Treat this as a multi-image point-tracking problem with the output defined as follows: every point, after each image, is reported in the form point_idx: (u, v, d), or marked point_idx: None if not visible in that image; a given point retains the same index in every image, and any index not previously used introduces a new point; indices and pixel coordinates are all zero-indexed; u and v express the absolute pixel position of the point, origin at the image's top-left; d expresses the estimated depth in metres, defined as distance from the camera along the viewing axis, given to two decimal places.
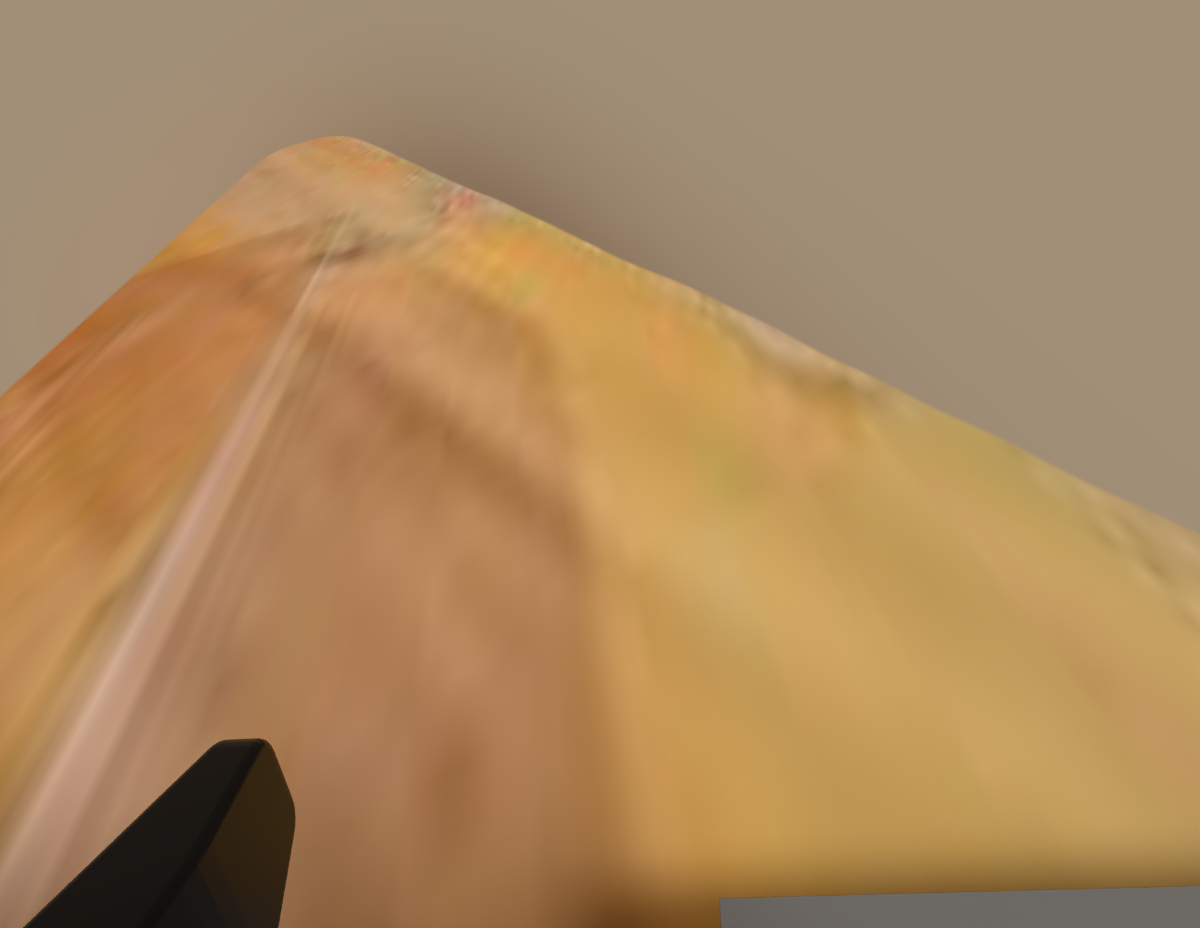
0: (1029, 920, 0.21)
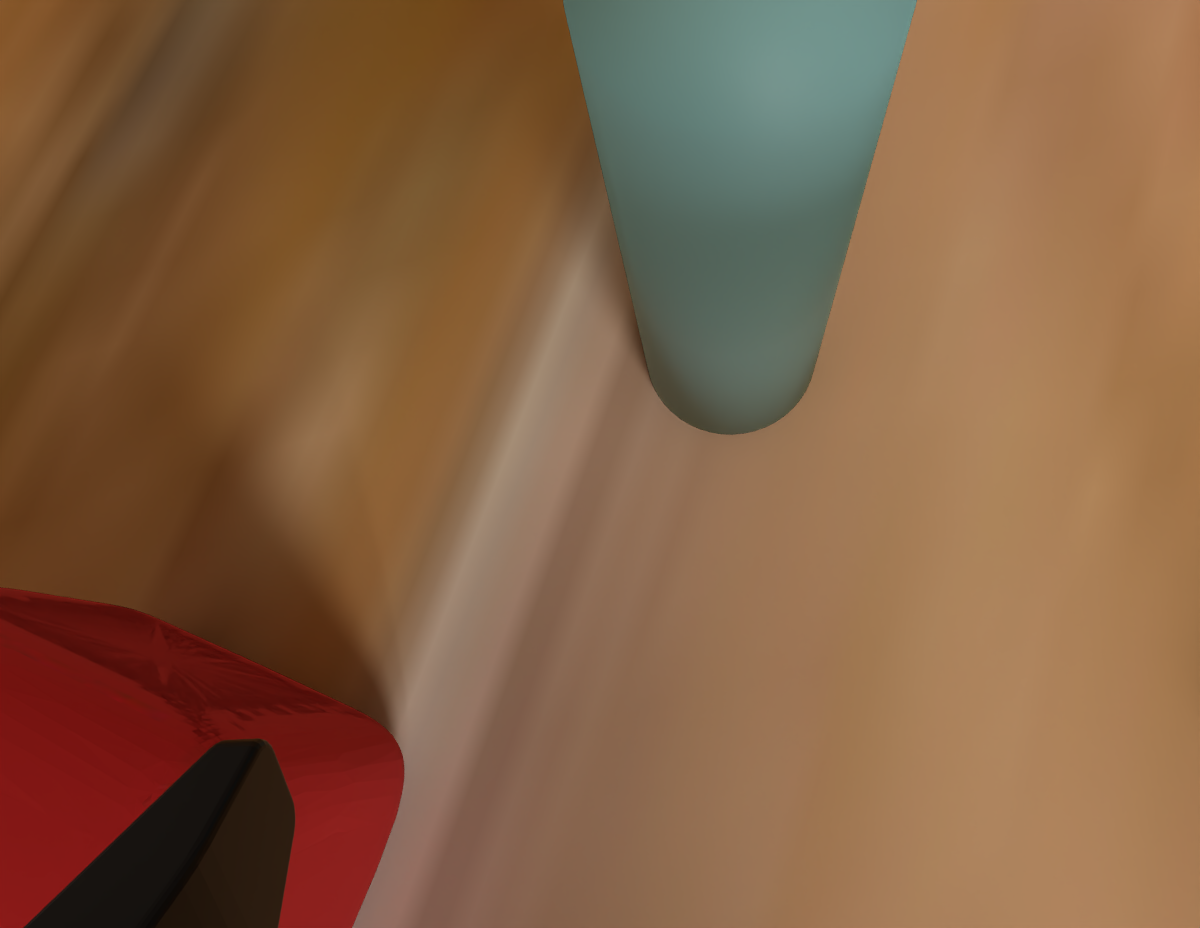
0: None
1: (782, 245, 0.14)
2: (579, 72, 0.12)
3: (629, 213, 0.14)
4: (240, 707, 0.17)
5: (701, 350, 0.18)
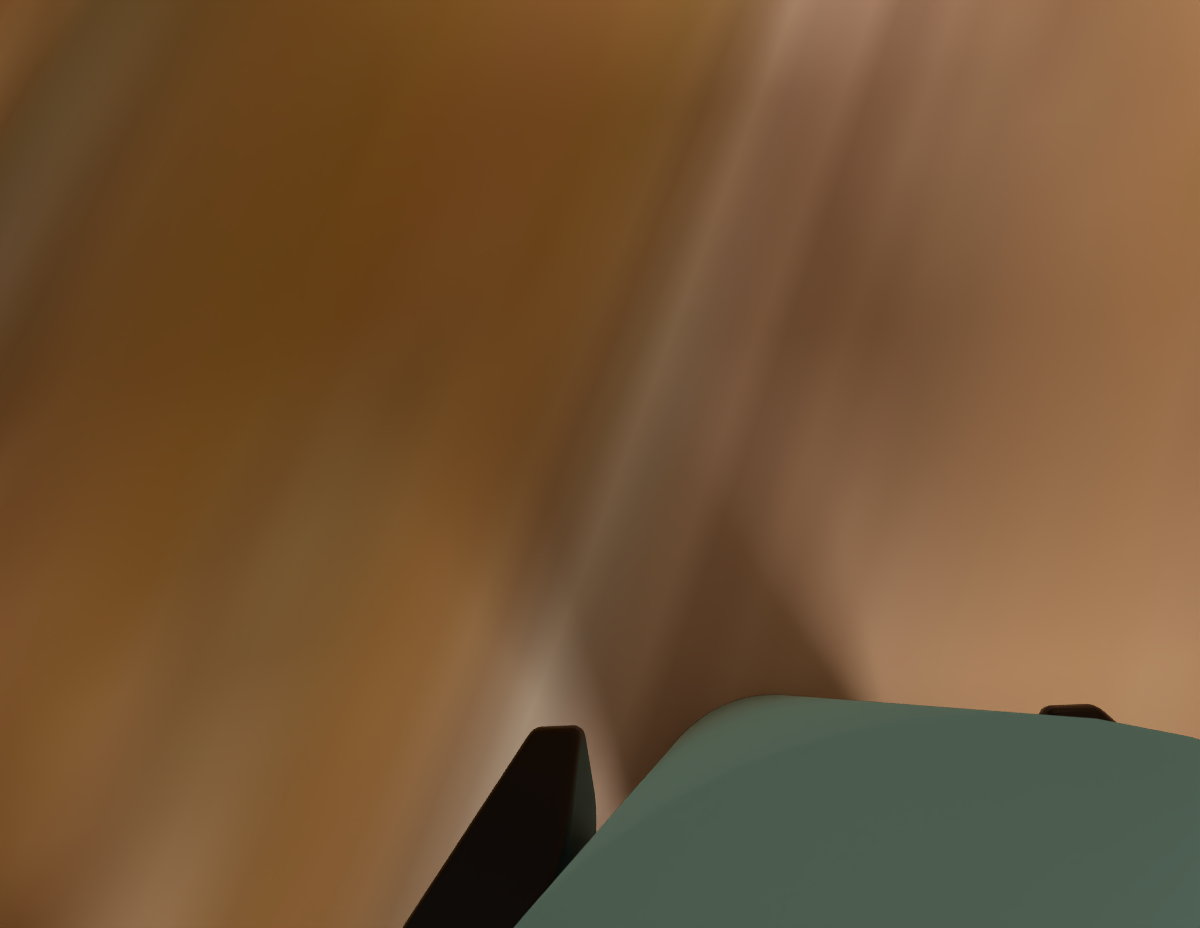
0: None
1: None
2: None
3: None
4: None
5: None
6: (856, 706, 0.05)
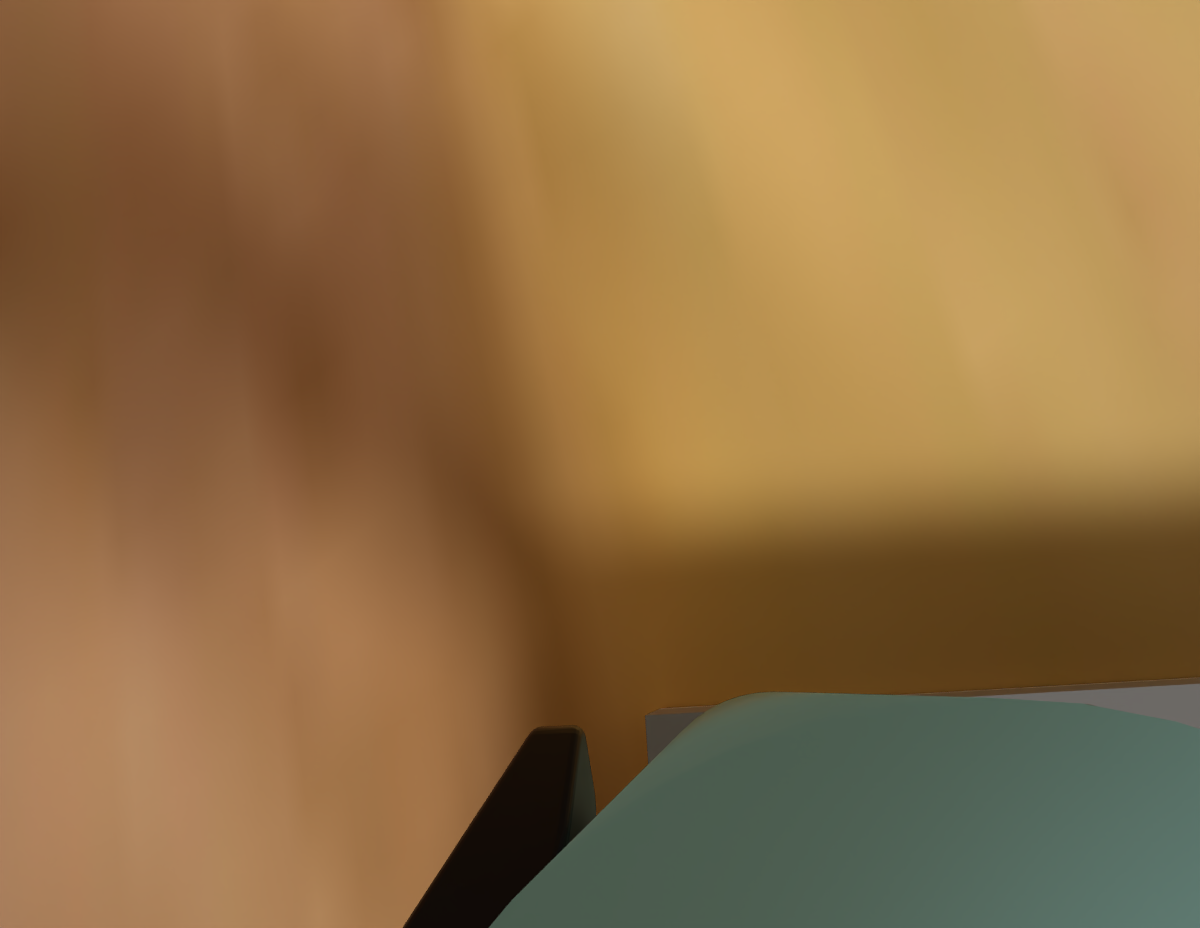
0: None
1: None
2: None
3: None
4: None
5: None
6: (848, 696, 0.05)
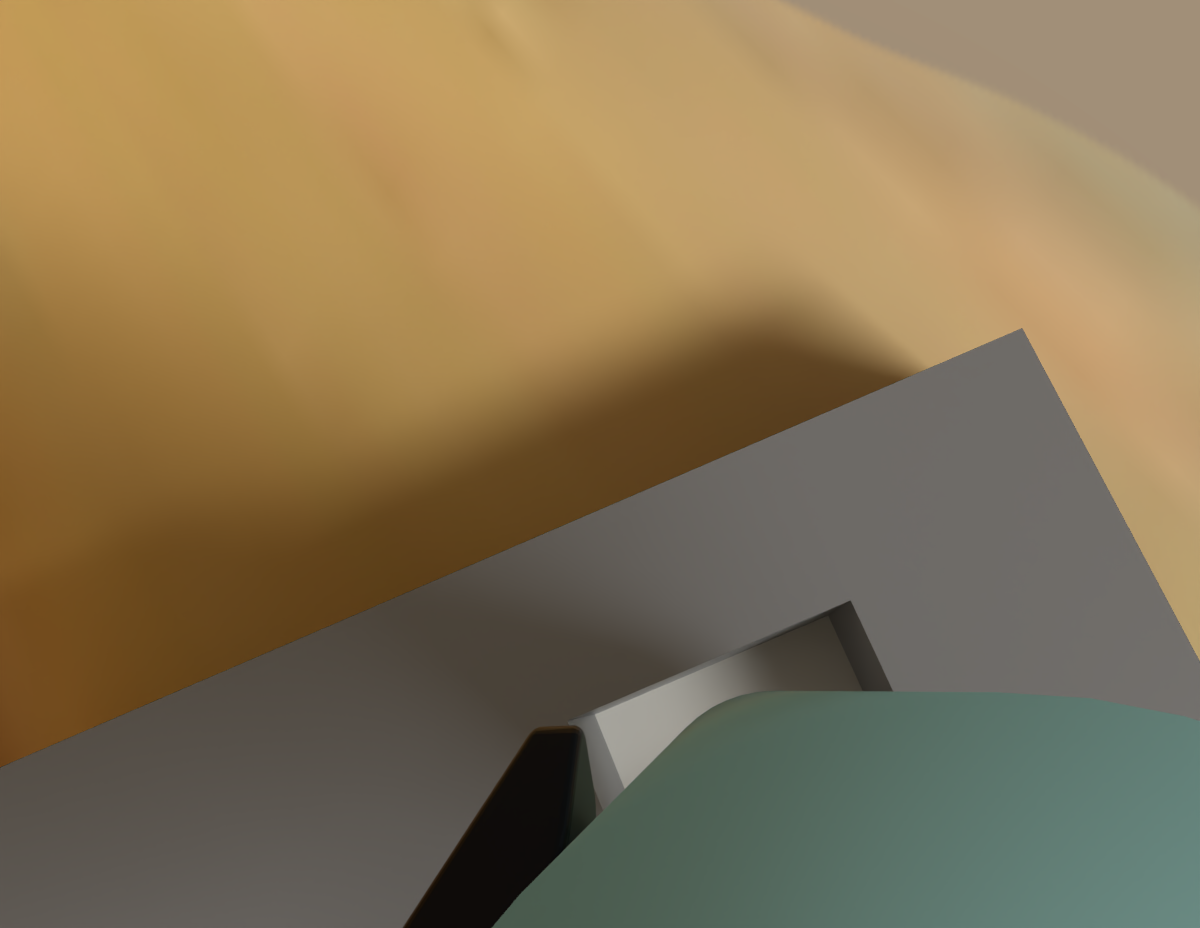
0: (252, 698, 0.19)
1: None
2: None
3: None
4: None
5: None
6: (853, 693, 0.05)
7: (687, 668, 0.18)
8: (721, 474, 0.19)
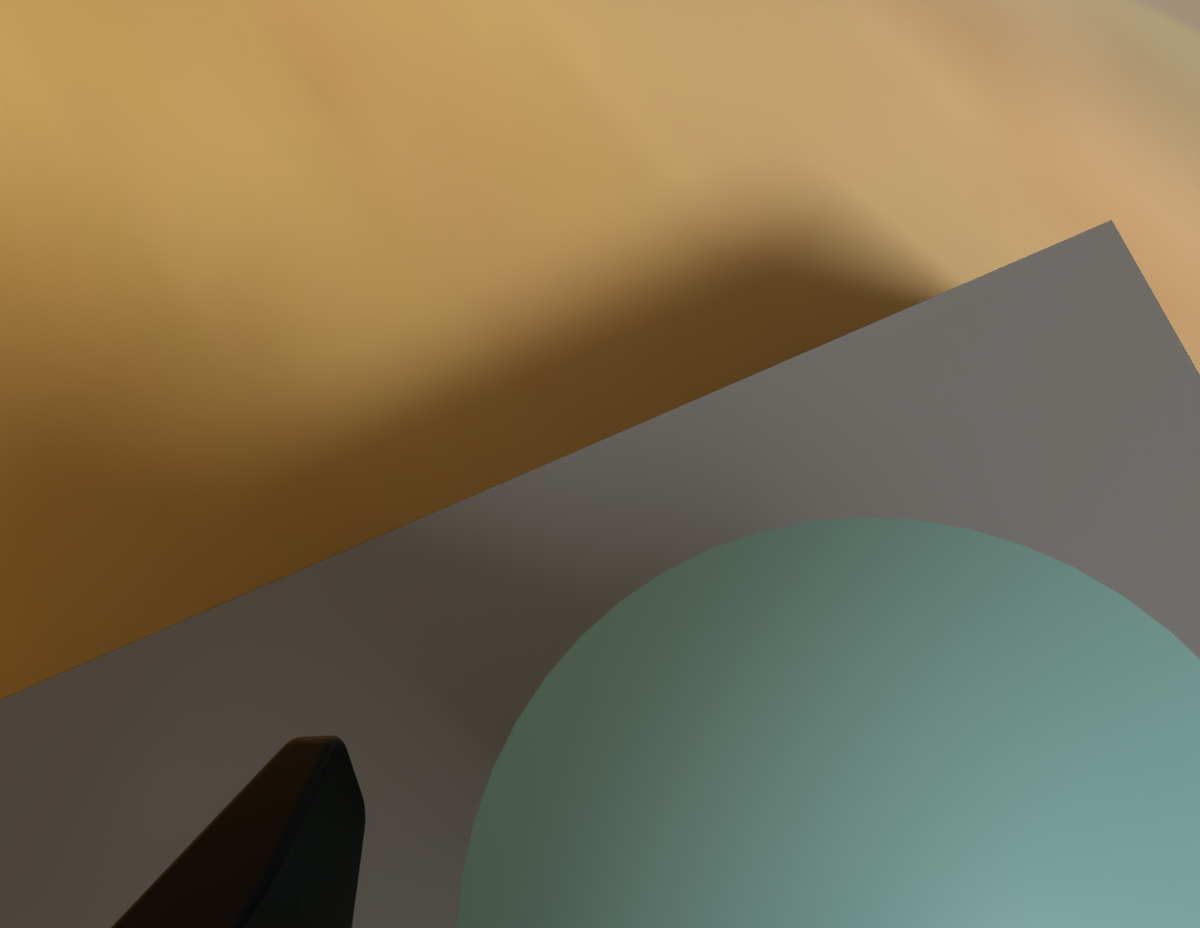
0: (110, 702, 0.15)
1: None
2: None
3: None
4: None
5: None
6: None
7: None
8: (719, 411, 0.14)
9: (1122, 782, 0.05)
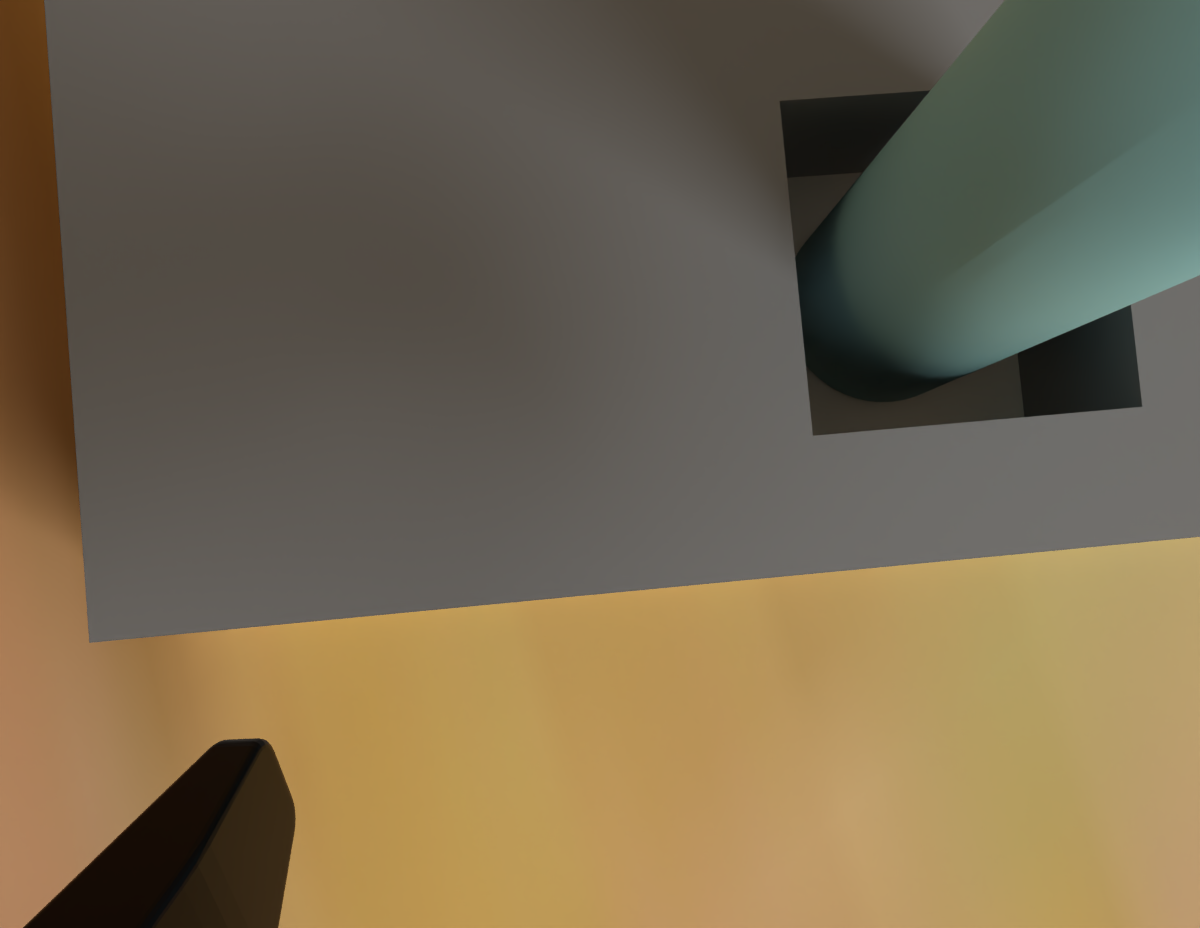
0: None
1: (1199, 260, 0.11)
2: None
3: (1018, 148, 0.11)
4: None
5: (934, 319, 0.15)
6: None
7: (919, 90, 0.17)
8: None
9: None
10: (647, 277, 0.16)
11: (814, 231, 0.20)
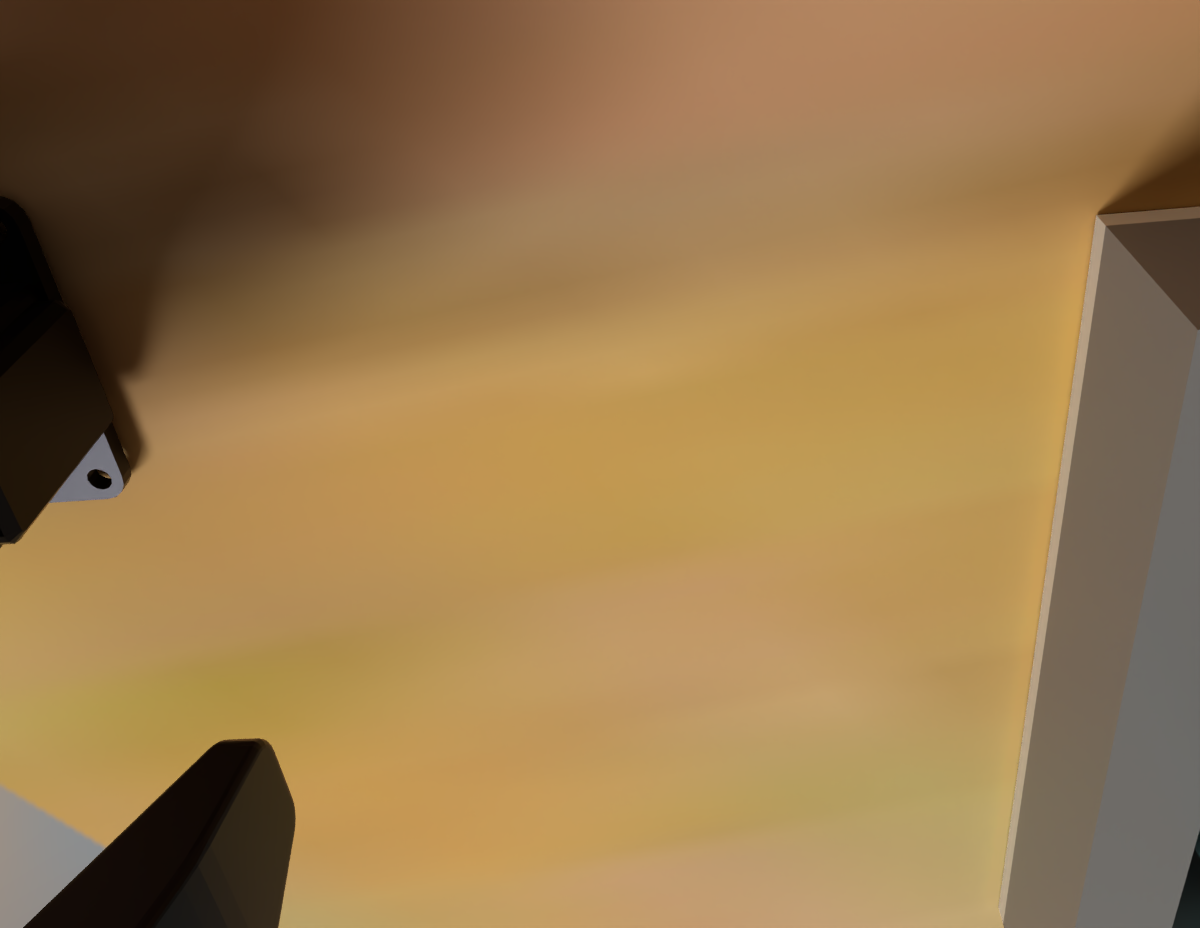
0: None
1: None
2: None
3: None
4: None
5: None
6: None
7: None
8: None
9: None
10: None
11: None
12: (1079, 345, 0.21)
